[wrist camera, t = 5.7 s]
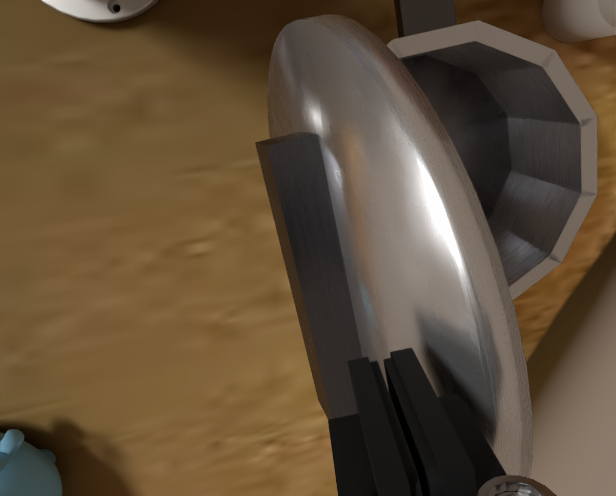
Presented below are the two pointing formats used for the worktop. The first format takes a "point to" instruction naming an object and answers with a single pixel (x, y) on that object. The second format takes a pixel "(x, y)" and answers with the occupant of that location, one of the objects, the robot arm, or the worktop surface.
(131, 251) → the worktop surface
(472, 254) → the lid
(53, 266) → the worktop surface
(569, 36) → the salt cellar
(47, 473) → the teapot
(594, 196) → the pot
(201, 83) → the worktop surface
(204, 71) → the worktop surface
